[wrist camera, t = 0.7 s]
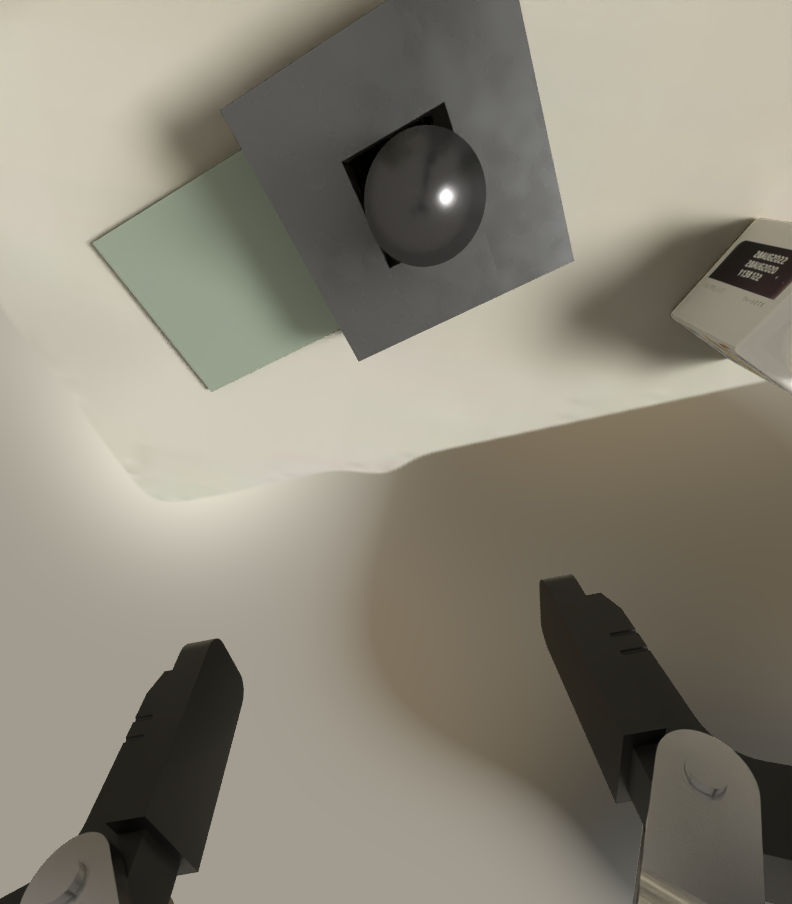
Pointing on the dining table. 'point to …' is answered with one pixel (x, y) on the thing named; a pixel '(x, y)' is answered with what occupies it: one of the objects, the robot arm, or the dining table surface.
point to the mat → (220, 274)
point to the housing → (383, 115)
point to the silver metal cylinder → (425, 195)
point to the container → (748, 303)
